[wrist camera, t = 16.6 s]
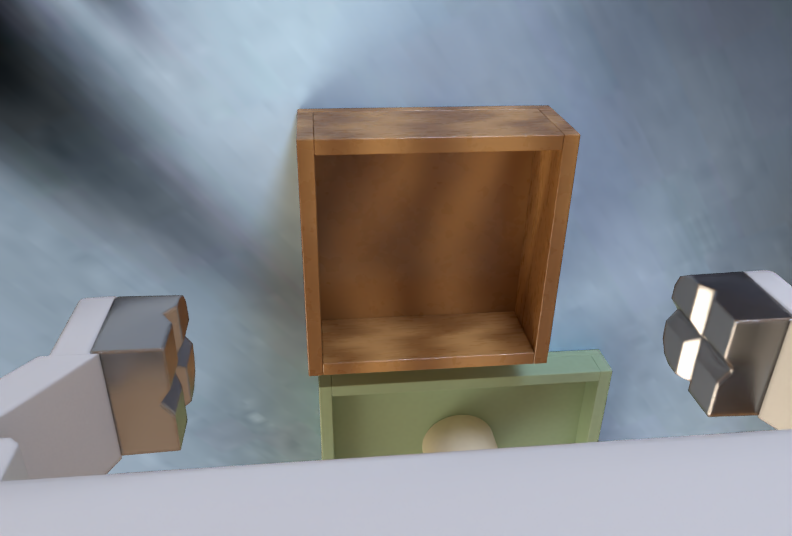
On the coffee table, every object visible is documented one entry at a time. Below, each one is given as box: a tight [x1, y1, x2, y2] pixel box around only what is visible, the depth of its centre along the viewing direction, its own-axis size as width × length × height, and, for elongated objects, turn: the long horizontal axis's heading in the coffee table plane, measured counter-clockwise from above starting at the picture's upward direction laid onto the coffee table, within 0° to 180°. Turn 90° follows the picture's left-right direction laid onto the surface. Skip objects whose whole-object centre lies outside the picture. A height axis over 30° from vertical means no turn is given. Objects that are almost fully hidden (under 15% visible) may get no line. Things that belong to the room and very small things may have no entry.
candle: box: [422, 415, 498, 453], centre depth 45 cm, size 5×5×8 cm
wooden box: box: [296, 105, 580, 376], centre depth 39 cm, size 14×14×5 cm
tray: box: [319, 349, 612, 460], centre depth 48 cm, size 19×14×2 cm
